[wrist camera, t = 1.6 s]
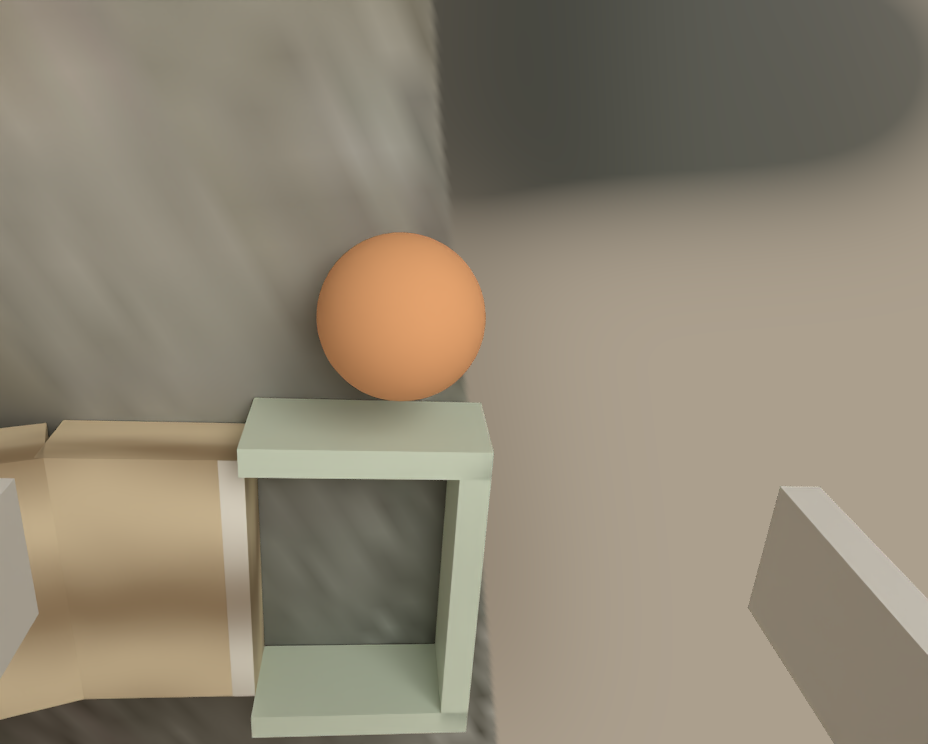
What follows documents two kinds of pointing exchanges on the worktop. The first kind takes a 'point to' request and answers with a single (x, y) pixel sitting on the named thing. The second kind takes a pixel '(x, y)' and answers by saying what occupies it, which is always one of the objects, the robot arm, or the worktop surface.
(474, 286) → the ball
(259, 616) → the ramp lane
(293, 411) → the tray
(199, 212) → the worktop surface
